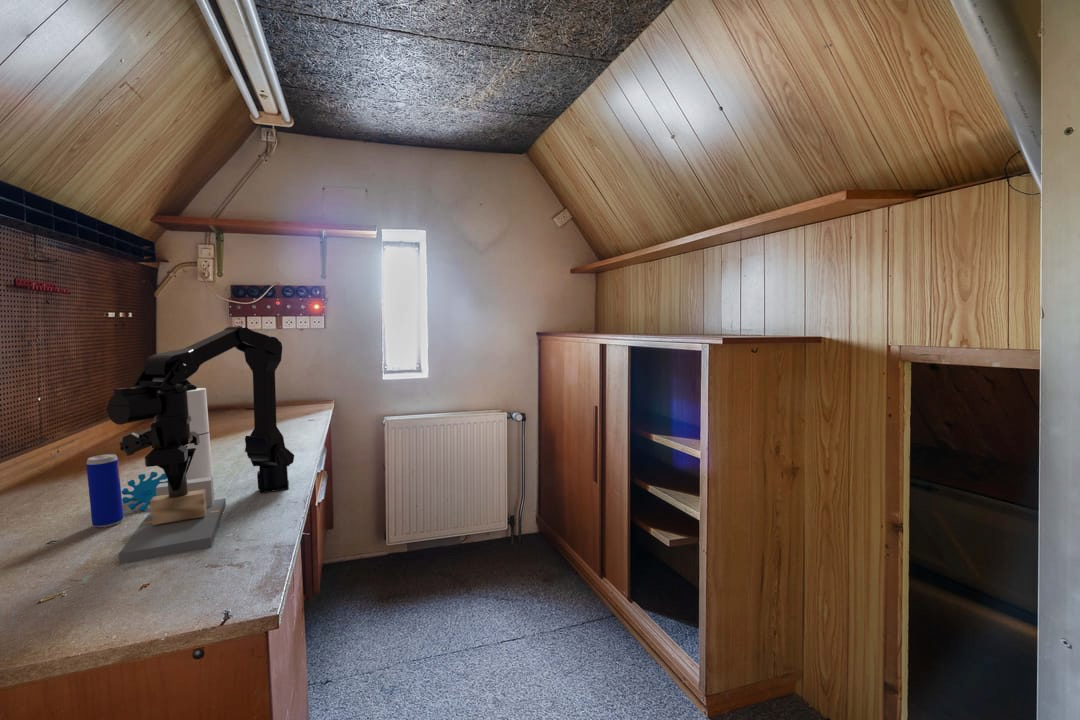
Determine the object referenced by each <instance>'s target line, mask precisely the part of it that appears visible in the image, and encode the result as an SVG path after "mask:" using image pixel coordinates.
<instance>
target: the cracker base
mask: <svg viewBox="0 0 1080 720" xmlns="http://www.w3.org/2000/svg"><path fill="white" fill-rule="evenodd" d="M204 489H205V494H206V507H207V512H206V515H205V516H204V517H198V518H192V519H186V520H180V521H174V522H168V523H162V524H155V525H152V519H151V510H150V512H149V513H148V514H147V515H146V517H145V518H144V519H143V521H142V522H141V523H140V524H139V526H138V527H137V528H136V529H135V531H134V533H133V534H132V536H131V537H130V538H129V539H128V541H126V543H125V544H124V546H123V547H122V549H121V550H120V551H119V553H118V555H117V556H118V565H125V564H129V563H135V562H140V561H145V560H151V559H157V558H162V557H167V556H172V555H177V554H183V553H189V552H193V551H200V550H204V549H209V548H212V547H213V545H214V544H213V543H214V542H215V538H216V536H217V532H218V530H219V528H220V525H219V524H221V522H220V521H222V519H221V518H223V516H224V513H225V511H224V510H226V508H227V503H226V498H224V497H223V498H217V499H215V491H214V478H213V476H211V477H206V478H199V479H191V480H187V491H188V492H190V491H197V490H204ZM162 495H169V492H168V483H162V484H159V485H158V486H157V487H156V496H162ZM225 507H226V508H225ZM223 512H224V513H223ZM222 515H223V516H222ZM215 535H216V536H215Z"/></svg>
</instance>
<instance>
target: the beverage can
mask: <svg viewBox="0 0 1080 720" xmlns="http://www.w3.org/2000/svg"><path fill="white" fill-rule="evenodd" d="M85 465H86V474H87V485H88V486H87V487H88V495H89V505H90V515H91V525H92V526H93V527H95V528H96V527H104V528H108V527H107V526H109V527H112V526H111V525H113V526H115V525H114V524H116V525H118V524H120V523H121V522H122V521H123V520H124V508H123V501H122V499H123V497H122V487H121V478H120V466H119V458H118V456H117V454H115V453H108V454H107V453H105V454H100V455H99V454H98V455H94V456H90V457H88V458H87V461H86V464H85ZM119 522H120V523H119ZM117 523H118V524H117Z"/></svg>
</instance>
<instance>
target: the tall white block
mask: <svg viewBox="0 0 1080 720" xmlns="http://www.w3.org/2000/svg"><path fill="white" fill-rule="evenodd" d="M207 398H208V397H207V388H205V387H197V389H196V390H191V391H187V399H188V412H189V416H191V421H190V422H189V423H190V432H192V431H194V432H196V433H197V434H199V440H200V443H199V444H198V445H194V443H192V444H187V445H186V446H188V449H191V448H196V451H195V454H194V456H193V459H192V461H191V464H190V467H189V469H188V472H187V475H186V478H187V480H191V479H199V478H206V477H209V476H211V475H212V474H213V466H212V465H213V463H212V462H213V461H212V449H211V438H210V437H211V436H210V435H211V434H210V425H209V412H208V399H207ZM212 476H213V475H212ZM212 476H211V477H212Z"/></svg>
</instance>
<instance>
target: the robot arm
mask: <svg viewBox="0 0 1080 720" xmlns="http://www.w3.org/2000/svg"><path fill="white" fill-rule="evenodd" d="M234 348H235V349H236V350H238V351H240V352H242V353H243V354H244V358H245V359H244V360H245V362H246V364H247V365H248V367H249V369H250V370H251V371H252V389H253V390H252V391H253V394H252V395H253V420H254V421H253V422H254V424H253V425H254V428H253V430H252V431H251V433H250V435H246V436H244V437H245V438H244V442H245V448H244V453H246V456H247V458H248V459H249V460H250V462H251V464H252V466H253V467H259V470H258V471H257V474H256V477H257V478H256V479H257V489H258V490H259V493H260V494H263V493H270V492H275V491H276V492H278V491H282V490H288V489H289V487H290V486H289V485H290V484H289V483H290V481H289V477H288V474H289V473H288V467H290V465H292V464H293V463H294V461H295V454H294V453H292V451H290V450H289V449H288V448H287V447H286V445H285V440H284V439H285V438H284V436H283V434H282V433H281V430H279V428H278V424H277V403H276V402H277V401H276V370H277V368H278V367H279V365H280V363H281V361H282V355H283V344H282V342H281V341H280V340H279V338H277V337H276V336H270V335H267V334H264V333H262V332H258V331H254V330H252V329H249V328H248V327H246V326H244V325H243V326H236V325H235V326H234V325H233V326H227V327H225V328H224V329H223V330H222V331H219V332H217V333H215V334H213V335H210V336H209V337H206V338H203V339H201V340H200V341H198V342H195V343H194V344H191V345H188V346H186V347H184V348H180V349H174V350H168V351H163V352H160V353H155V354H153V355H151V356H149V357H147V358H146V360H145V364H144V368H142V370H141V372H140V373H139V375H138V377H137V378H136V380H135V381H134V383H133V384H132V386H131V387H117V388H114V389H113V393H114V394H113V395H112V396H111V397H110V399H109V400H108V402H107V405H106V412H107V415H108V417H109V419H110V421H111V422H112V423H114V424H115V425H119V426H120V425H126V424H131V423H136V422H140V421H147V420H151V419H154V421H153V422H152V423H151V424H150V428H148V429H145V430H143V431H141V432H140V431H139V432H138V433H135V432H134V431H133V432H131V433H128V434H125V435H124V436H122V440H121V441H119V442H118V444H119V446H120V447H119V449H120V451H123V452H124V454H125V455H126V456H127V457H129V456H132V455H134V454H135V453H137V452H139V451H141V450H144V449H147V448H150V447H151V451H149V453H148V454H146V455H145V456H144V461H145V462H144V464H145V467H147V468H151V467H158V468H159V469H162V470H163V472H164V473H165V474H166V476H167V479H168V480H167V479H166V480H167V481H169V483H170V485H171V488H172V490H173V491H176V490H179V489H180V486H181V483H182V481H183V478H184V475H185V472H186V475H187V472H188V469H189V467H190V464H191V461H192V459H193V456H194V454H195V451H196V448H191V449H188V446H186V445H187V444H192V443H194V445H198V444H199V443H200V440H199V434H197V433H196V432H194V431H192V432H190V423H189V422H190V421H191V416H189V412H188V399H187V391H191V390H196V389H197V388H198V387H197V386H196V385H194V384H193V383H191V382H190V381H189V380H188V379H189V378H190V377H192V376H193V375H195V374H196V373H197V372H198V371H199V368H200V367H201V366H202V365H203V364H204V363H206V362H208V361H210V360H213V359H214V358H216V357H218V356H220V355H221V354H224V353H226V352H228V351H229V350H232V349H234Z"/></svg>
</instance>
